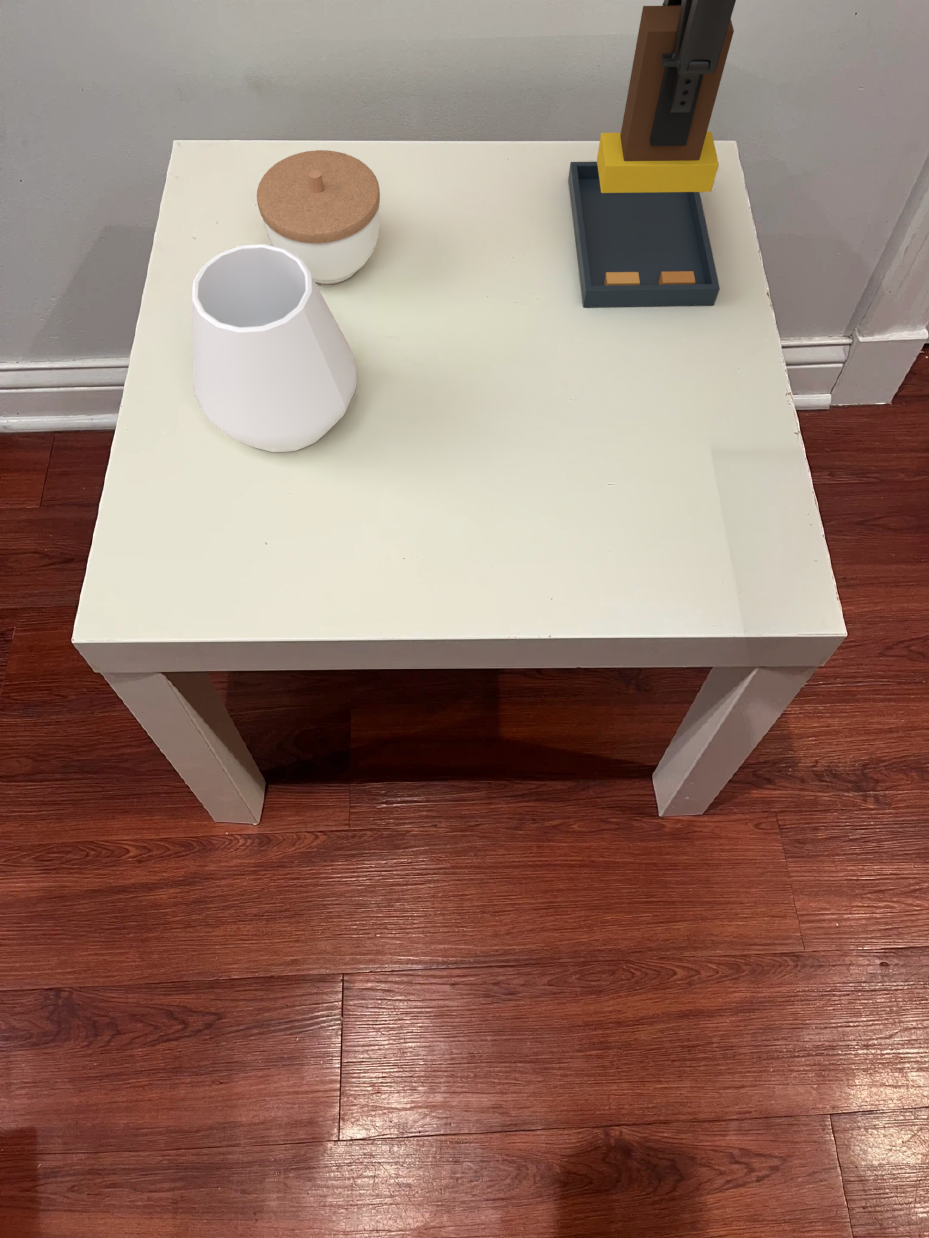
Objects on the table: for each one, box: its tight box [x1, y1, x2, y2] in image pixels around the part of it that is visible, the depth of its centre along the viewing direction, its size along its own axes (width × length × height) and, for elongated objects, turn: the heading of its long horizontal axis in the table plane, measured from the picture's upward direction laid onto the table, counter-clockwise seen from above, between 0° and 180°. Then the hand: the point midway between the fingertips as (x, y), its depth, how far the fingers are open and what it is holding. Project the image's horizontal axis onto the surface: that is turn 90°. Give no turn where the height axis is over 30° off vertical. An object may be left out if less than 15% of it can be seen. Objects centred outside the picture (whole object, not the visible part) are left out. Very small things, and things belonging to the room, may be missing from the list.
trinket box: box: [256, 149, 381, 285], centre depth 81 cm, size 11×11×9 cm
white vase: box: [191, 243, 357, 454], centre depth 71 cm, size 13×13×14 cm
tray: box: [567, 161, 721, 309], centre depth 86 cm, size 17×12×2 cm
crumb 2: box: [658, 271, 695, 285], centre depth 83 cm, size 1×3×1 cm, turn 92°
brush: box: [596, 5, 735, 193], centre depth 68 cm, size 9×4×12 cm, turn 91°
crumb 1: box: [604, 272, 640, 286], centre depth 83 cm, size 1×3×1 cm, turn 92°
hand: (665, 126), depth 70 cm, fingers closed on brush, 3 cm apart
